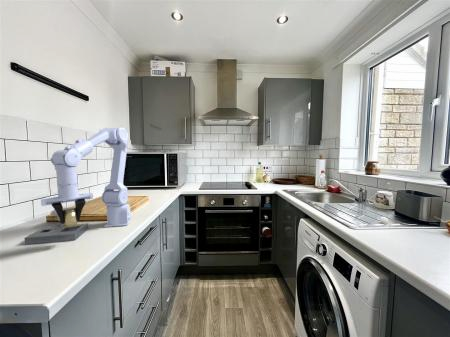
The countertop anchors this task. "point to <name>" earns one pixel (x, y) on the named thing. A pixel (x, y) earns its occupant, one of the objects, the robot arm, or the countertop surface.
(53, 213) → the showerhead
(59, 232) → the fitting plate
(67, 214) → the pipe stub
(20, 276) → the countertop surface
